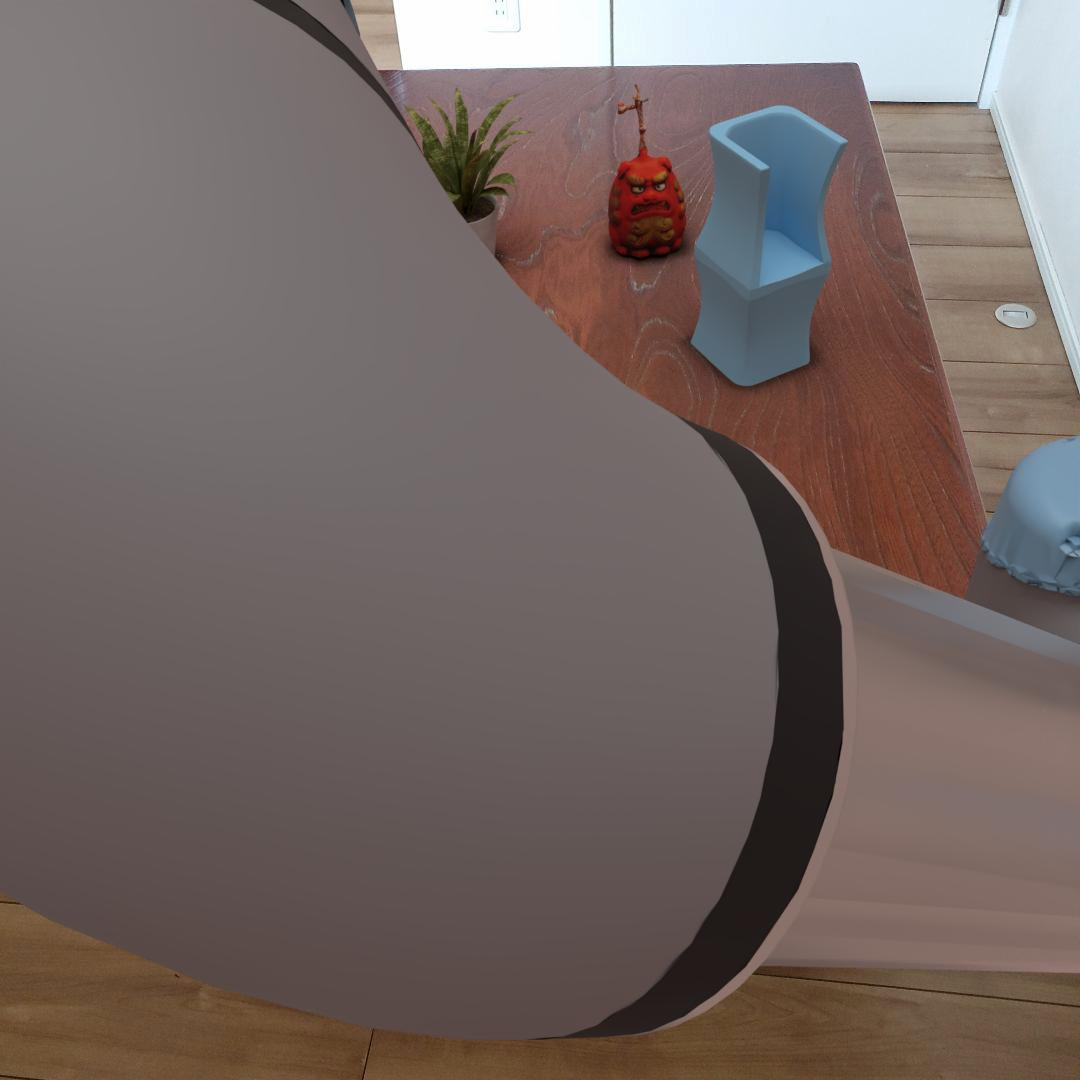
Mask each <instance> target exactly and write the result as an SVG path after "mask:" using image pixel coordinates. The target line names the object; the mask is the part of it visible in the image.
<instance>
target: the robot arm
mask: <svg viewBox="0 0 1080 1080" xmlns="http://www.w3.org/2000/svg"><path fill="white" fill-rule="evenodd" d="M392 95H393V94H391V92H390V90H389V88H388V86H387V84H386V82H385V81H384V78H383V77H382V75H381V73H380V71H379V69H378V67H377V66H376V63H375V62H374V60H373V58H372V56H371V54H370V53H369V51H368V49H367V47H366V45H365V44H364V41H363V40H362V37H361V32H360V28H359V25H358V20H357V17H356V14H355V11H354V8H353V5H352V1H351V0H0V893H1V894H2V895H4V896H5V897H8V898H10V899H11V900H13V901H15V902H17V903H18V904H20V905H22V906H24V907H25V908H27V909H29V910H31V911H33V912H34V913H36V914H38V915H40V916H42V917H43V918H45V919H47V920H49V921H51V922H53V923H54V924H58V925H60V926H63V927H65V928H68V929H70V930H73V931H75V932H78V933H80V934H82V935H85V936H87V937H90V938H92V939H94V940H97V941H100V942H103V943H105V944H107V945H110V946H112V947H115V948H116V949H117V948H118V949H119V950H122V951H125V952H127V953H130V954H132V955H135V956H137V957H139V958H142V959H144V960H146V961H150V962H152V963H154V964H157V965H158V966H162V967H163V968H166V969H169V970H171V971H173V972H176V973H178V974H180V975H183V976H185V977H188V978H190V979H192V980H194V981H195V980H196V981H197V982H200V983H202V984H204V985H207V986H210V987H212V988H216V989H221V990H223V991H228V992H232V993H235V994H238V995H243V996H245V997H246V996H247V997H250V998H254V999H256V1000H257V999H258V1000H260V1001H264V1002H267V1003H272V1004H276V1005H279V1006H283V1007H287V1008H290V1009H295V1010H297V1011H301V1012H305V1013H308V1014H313V1015H316V1016H320V1017H324V1018H327V1019H331V1020H334V1021H335V1020H336V1021H339V1022H343V1023H346V1024H350V1025H354V1026H356V1027H357V1026H358V1027H360V1028H367V1029H373V1030H374V1029H375V1030H382V1031H388V1032H389V1031H390V1032H396V1033H397V1032H398V1033H406V1034H414V1035H422V1036H430V1037H438V1038H445V1039H452V1040H453V1039H454V1040H460V1041H462V1040H463V1041H533V1040H535V1041H539V1040H540V1041H541V1040H562V1039H597V1038H613V1037H629V1036H630V1037H632V1036H645V1035H648V1034H652V1033H655V1032H660V1031H663V1030H666V1029H667V1030H668V1029H671V1028H674V1027H677V1026H680V1025H681V1024H683V1023H686V1022H688V1021H690V1020H692V1019H694V1018H695V1017H697V1016H700V1015H701V1014H704V1013H706V1012H707V1011H709V1010H711V1009H712V1008H713V1007H714V1006H716V1005H717V1004H718V1003H720V1002H721V1001H723V1000H724V999H725V998H727V997H728V996H729V995H731V994H733V992H735V991H736V990H738V989H739V988H740V987H741V986H742V985H743V984H744V983H745V982H746V981H747V980H748V979H749V978H750V977H751V975H753V974H754V973H755V972H756V970H757V969H758V968H759V967H792V968H793V967H795V968H798V967H800V968H841V969H843V968H845V969H848V968H849V969H880V970H881V969H885V970H887V969H888V970H928V971H929V970H930V971H931V970H933V971H969V972H973V971H975V972H980V971H981V972H1011V973H1012V972H1014V973H1015V972H1017V973H1019V972H1020V973H1056V974H1057V973H1058V974H1059V973H1061V974H1063V973H1064V974H1065V973H1066V974H1080V434H1079V435H1072V436H1069V437H1066V438H1059V439H1057V440H1053V441H1051V442H1047V443H1044V444H1042V445H1040V446H1038V447H1036V448H1034V449H1033V450H1031V451H1030V452H1029V453H1027V454H1026V455H1025V456H1024V457H1023V458H1022V459H1021V460H1020V461H1019V462H1018V464H1016V466H1015V467H1013V470H1012V472H1011V473H1010V474H1009V478H1008V480H1007V482H1006V484H1005V486H1004V489H1003V491H1002V493H1001V496H1000V498H999V500H998V503H997V506H996V508H995V510H994V512H993V514H992V516H991V518H989V520H988V521H987V522H986V526H984V527H983V529H982V531H981V532H982V533H981V535H980V538H979V539H980V541H979V544H980V547H979V549H978V552H977V556H976V558H975V559H976V560H975V563H974V567H973V569H972V572H971V576H970V578H969V582H968V585H967V589H966V592H965V595H964V598H961V597H959V596H957V595H953V594H951V593H949V592H946V591H943V590H941V589H939V588H936V587H933V586H930V585H928V584H926V583H923V582H920V581H918V580H915V579H913V578H910V577H907V576H905V575H902V574H900V573H897V572H895V571H892V570H890V569H887V568H885V567H881V566H880V565H877V564H874V563H872V562H870V561H867V560H864V559H861V558H859V557H856V556H853V555H851V554H849V553H847V552H844V551H841V550H839V549H836V548H834V547H831V544H830V542H829V540H828V537H827V535H826V533H825V532H824V530H823V528H822V527H821V525H820V523H819V522H818V520H817V518H816V516H815V515H814V513H813V512H812V510H811V508H810V507H809V505H808V503H807V501H806V500H805V499H804V498H803V496H802V495H801V494H800V493H799V492H798V491H797V489H796V488H795V487H794V486H793V484H791V482H790V481H789V480H788V479H787V478H786V476H785V475H784V474H783V472H781V471H780V470H779V469H777V467H775V466H773V465H772V464H771V463H770V462H768V460H766V459H765V458H764V457H762V456H761V455H760V454H759V453H758V452H756V451H755V450H753V449H751V448H749V447H747V446H746V445H744V444H741V443H739V442H737V441H735V440H734V439H732V438H730V437H728V436H727V435H725V434H722V433H719V432H717V431H715V430H712V429H709V428H707V427H705V426H702V425H700V424H698V423H696V422H694V421H691V420H690V419H689V420H688V419H686V418H684V417H682V416H680V415H677V414H675V413H673V412H671V411H669V410H667V409H665V408H664V407H662V406H661V405H659V404H657V403H656V402H654V401H653V400H650V399H649V398H647V397H645V396H644V395H642V394H640V393H639V392H638V391H636V390H633V389H632V388H631V387H629V386H627V384H625V383H624V382H622V380H620V379H619V378H618V377H616V376H615V375H614V374H612V372H610V371H609V370H608V369H606V368H605V367H604V366H603V365H602V364H601V363H599V362H598V361H597V360H595V359H594V358H593V357H592V356H591V355H590V354H589V353H587V352H585V350H583V349H582V348H581V347H580V346H579V345H578V344H577V343H576V342H575V341H574V340H573V339H572V338H571V336H569V335H568V334H567V332H565V331H564V330H563V329H562V328H561V327H560V326H559V325H558V324H557V323H556V322H555V321H554V320H553V319H552V318H551V317H550V316H549V315H548V314H547V313H546V312H545V311H544V310H543V309H542V308H541V307H540V306H539V305H538V304H537V303H536V302H535V301H534V300H533V299H532V298H531V297H530V296H529V295H528V294H527V293H525V291H524V290H523V289H521V287H520V286H519V285H518V284H517V283H516V282H515V280H514V279H513V278H512V276H510V275H511V274H509V273H508V271H507V270H506V269H505V267H503V265H502V264H501V263H500V261H499V260H498V259H497V258H496V257H494V256H493V254H492V253H491V252H490V251H489V249H488V248H487V247H486V246H485V244H484V243H483V242H482V241H481V239H480V238H479V237H478V236H477V234H476V233H475V232H474V231H473V229H472V228H471V227H470V226H469V224H468V223H467V222H466V221H465V219H464V218H463V217H462V216H461V214H460V213H459V212H458V211H457V209H456V207H455V206H454V204H453V203H452V201H451V200H450V198H449V196H448V195H447V193H446V192H445V190H444V189H443V187H442V185H441V184H440V182H439V181H438V179H437V178H436V176H435V174H434V173H433V171H432V169H431V168H430V166H429V164H428V163H427V161H426V159H425V157H424V155H423V154H424V153H423V150H422V148H421V146H420V145H419V143H418V141H417V139H416V137H415V135H414V134H413V132H412V130H411V128H410V126H409V125H408V123H407V121H406V118H405V117H404V115H403V114H402V112H401V110H400V109H399V107H398V105H397V103H396V101H395V99H394V97H393V96H392Z"/></svg>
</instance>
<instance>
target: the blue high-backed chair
mask: <svg viewBox="0 0 1080 1080" xmlns="http://www.w3.org/2000/svg"><path fill="white" fill-rule="evenodd" d="M708 136H709V143H710V147H711V153H712V160H713V170H714V171H713V172H714V185H713V186H714V189H713V197H712V201H711V206H710V209H709V212H708V215H707V218H706V221H705V223H704V225H703V227H702V229H701V231H700V233H699V236H698V237H697V239H696V242H695V244H694V251H693V257H694V260H695V265H696V269H697V274H698V280H699V287H700V310H699V316H698V319H697V323H696V326H695V329H694V332H693V335H692V337H691V340H690V344H691V345H692V346H693V347H694V348H695V349H696V350H697V351H698V352H699V353H701V354H702V355H703V357H705V358H706V359H707V361H709V362H710V363H711V364H712V365H713V366H714V367H715V368H716V369H718V371H720V373H722V374H723V375H724V376H725V377H726V378H727V379H728V380H729V381H731V382H732V383H734V384H735V385H738V386H742V387H751V386H755V385H758V384H761V383H763V382H766V381H769V380H771V379H774V378H776V377H778V376H781V375H783V374H786V373H789V372H791V371H794V370H796V369H799V368H801V367H803V366H806V365H808V364H809V363H810V361H811V360H810V359H811V352H810V332H811V324H812V323H811V322H812V317H813V313H814V310H815V307H816V304H817V301H818V299H819V296H820V294H821V292H822V290H823V287H824V285H825V283H826V281H827V279H828V277H829V275H830V273H831V269H832V263H833V260H832V256H831V252H830V248H829V245H828V239H827V235H826V227H825V226H826V225H825V203H826V199H827V194H828V189H829V186H830V184H831V181H832V178H833V176H834V173H835V171H836V169H837V166H838V164H839V162H840V161H841V158H842V156H843V155H844V153H845V151H846V148H847V147H848V143H849V141H848V140H847V139H846V138H844V137H842V136H841V135H839V134H838V133H837V132H835V131H833V130H832V129H829V128H828V127H827V126H825V125H823V124H821V123H820V122H818V121H817V120H815V119H813V118H812V117H810V116H809V115H807V114H805V113H804V112H802V111H801V110H799V109H797V108H795V107H792V106H789V105H773V106H769V107H766V108H763V109H759V110H756V111H753V112H750V113H747V114H742V115H740V116H737V117H733V118H730V119H726V120H724V121H721V122H718V123H715V124H714V125H712V126H711V127H710V128H709V130H708Z"/></svg>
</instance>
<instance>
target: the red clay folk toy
mask: <svg viewBox="0 0 1080 1080" xmlns="http://www.w3.org/2000/svg"><path fill="white" fill-rule="evenodd" d="M634 87H635V89H636V93H637V94H636V96H632V97H631V98H632V99H633V100H634V104H624V103H623V102H618V104H617V112H616V113H617V115H620V116H621V115H623V114H625V113H626V112H627V111H632V110H636V113H637V118H638V126H639V127H638V133H639V144H638V149H637V151H638V154H637V156H636V157H635V158H632V159H631V160H624V161H621V162H620V164H619V167H618V169H617V173H616V176H615V177H614V180H613V182H612V185H611V188H610V191H609V195H608V202H607V203H608V206H607V217H608V226H607V227H608V234H609V237H610V240H611V243H612V244H613V246H614V248H615V250H616V252H617V253H618V254H619V255H621V256H630V257H633V258H638V259H641V258H646V257H648V256H650V255H651V256H655V255H656V256H661V257H662V256H666V255H669V254H671V253H673V252H676V251H678V250H680V248H681V245H682V241H683V237H684V234H685V232H686V227H687V216H686V211H687V205H686V204H687V203H686V200H685V193H684V190H683V188H682V186H681V185H680V182H679V180H678V177H677V176H676V174H675V173H674V171H673V170H672V169H673V165H672V162H671V161H670V159H669V157H666V156H660V157H653V156H650V155H649V154H648V146H647V142H646V139H645V134H646V132H647V126H646V125H645V124H644V110H643V109H644V107H643V103H645V102H648V101H649V97H647V98H645V99H641V88H640V85H639V84H637V83H636V84H634Z"/></svg>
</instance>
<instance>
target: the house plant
mask: <svg viewBox="0 0 1080 1080" xmlns="http://www.w3.org/2000/svg"><path fill="white" fill-rule="evenodd" d="M521 94H522V92H521V93H517V94H514V95H511V96H508V97H506V98H504V99H502V100H501V101H500V102H498V103H497V104H496V105H494V107H493V108H491V110H490V111H489V113H488V114H486V117H485V118H484V120H483V121H482V123H481V125H480V126H479V127H478V128H476V129H475V130H473V132H472V133H471V135H470V138H469V133H470V132H469V115H468V114H469V113H468V108H467V107H466V104H465V102H464V100H463V97H462V94H461V91H460V89H459V88H458V86H456V87H455V90H454V108H455V129H454V127H453V124H452V121H451V120H450V118H449V116H448V115H447V114H446V113H445V111H444V110H443V109H442V108H441V106H440V105H439V104H438V103H437V102H435V100H433V99H431V98H430V96H427V99H429V101H430V102H431V104H432V105H433V106H434V108H435V109H436V110H437V111H438V113H439V114H440V116H441V118H442V120H443V123H444V125H445V128H446V132H445V135H444V139H443V145H442V142H441V140H440V139H439V137H438V135H437V133H436V131H435V129H434V128H433V126H432V125H431V124H430V117H429V116H428V115H426V119H425V118H423V117H422V116H421V115H420V114H419V113H418V112H417V111H416V110H414V108H411V107H409V106H406V105H405V104H403V106H404V108H405V110H406V111H407V113H408V114H409V117H410V118H411V119H412V121H413V122H414V124H415V126H416V128H417V130H418V131H419V134H420V135H421V137H422V141H421V146H422V153H423V155H424V158H425V159H426V161H427V163H428V164H429V166H430V168H431V169H432V171H433V173H434V174H435V176H436V178H437V179H438V181H439V182H440V184H441V185H442V187H443V189H444V190H445V192H446V193H447V195H448V196H449V198H450V200H451V201H452V203H453V204H454V206H455V207H456V209H457V211H458V212H459V213H460V214H461V216H462V217H463V218H464V219H465V221H466V222H467V223H468V224H469V226H470V227H471V228H472V229H473V231H474V232H475V233H476V234H477V236H478V237H479V238H480V239H481V241H482V242H483V243H484V244H485V246H486V247H487V248H488V249H489V251H490V252H491V253H492V254H493V256H494V257H495V255H496V242H497V233H498V232H497V231H498V219H499V218H498V217H499V206H500V205H499V200H498V198H497V196H504V197H508V198H509V199H512V197H511V196H510V194H509V193H508V191H507V190H506V189H505V188H503V187H501V186H498V185H497V186H490V185H495V184H506V185H509V186H512V187H514V189H515V190H517V188H516V180H515V177H514V176H513V175H512V174H511V173H509V172H504V173H500V174H497V175H495V176H493V177H492V178H491V179H490V180H489V178H490V175H491V174H492V172H493V170H494V168H495V167H496V166H497V163H498V162H499V160H500V159H501V158H502V156H503V155H504V154H505V153H506V151H507V150H508V149H509V148H510V147H511V146H513V145H515V144H516V143H518V142H519V141H520V139H518V140H515V141H512V142H509V143H506V144H504V145H503V146H501V147H500V148H499V149H498V150H496V148H497V146H498V145H499V144H500V143H502V142H503V141H505V140H507V139H509V138H511V137H513V136H516V135H530V134H536V132H534V131H530V130H524V129H518V130H511V131H509V132H508V130H510V128H511V127H512V126H513V125H514V124H516V123H517V122H519V121H521V120H522V119H523V117H519V118H516V119H515V118H514V119H512V120H510V121H508V122H507V123H506V124H504V125H503V126H502V127H501V129H500V130H499V131H498V132H497V133H496V135H495V137H494V138H493V140H492V142H491V144H490V146H489V149H484V150H482V147H483V144H485V143H486V142H487V141H489V140H490V138H487V139H486V137H487V135H488V134H489V131H490V129H491V127H492V126H493V124H494V122H495V120H497V118H498V117H499V116H500V114H501V113H502V112H503V110H504V108H505V107H506V106H507V105H508V104H509V103H510V102H511V101H513V100H515V99H516V98H517V97H518V96H519V95H521ZM485 139H486V140H485ZM481 150H482V151H481ZM488 180H489V181H488ZM487 186H490V187H487ZM495 258H496V257H495Z"/></svg>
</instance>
